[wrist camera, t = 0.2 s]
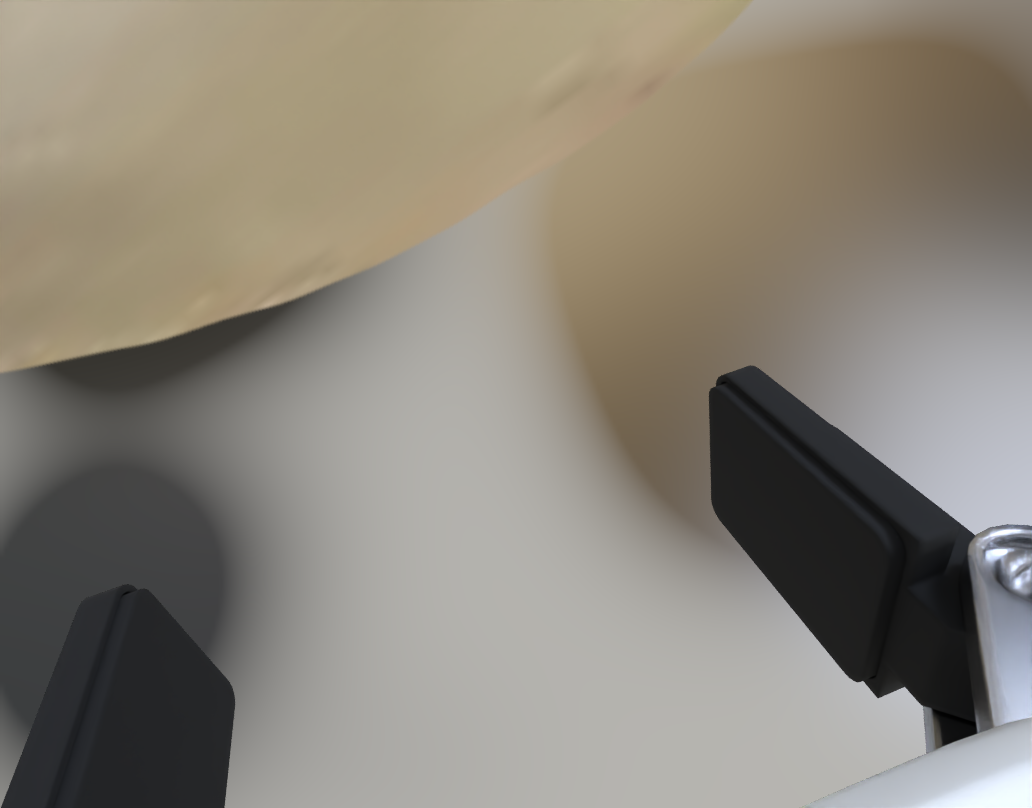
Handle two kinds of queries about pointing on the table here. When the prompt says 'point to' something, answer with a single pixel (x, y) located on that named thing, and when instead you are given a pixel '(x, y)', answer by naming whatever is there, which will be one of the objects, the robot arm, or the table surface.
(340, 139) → the table surface
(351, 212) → the table surface
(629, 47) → the table surface
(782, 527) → the robot arm
